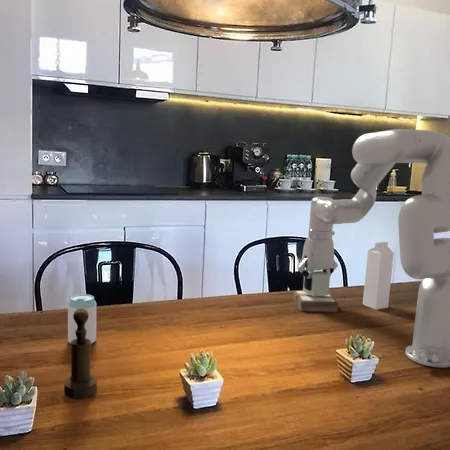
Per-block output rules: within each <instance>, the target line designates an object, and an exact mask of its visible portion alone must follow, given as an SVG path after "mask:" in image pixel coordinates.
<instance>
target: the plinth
mask: <svg viewBox="0 0 450 450" xmlns="http://www.w3.org/2000/svg"><path fill="white" fill-rule="evenodd" d="M292 294H293V295H292V301H294V304H295V305H296V306H297V307H298V309H299V311H301V312H331V313H333V312H334V313H336V312H339V310H338V309H339V302H338V300H336V299H335V297H333V296H332V294H331V293H329V295H322V296H312V295H310V294H308V293H306V292H304V291H303V290H294V291H293V292H292Z"/></svg>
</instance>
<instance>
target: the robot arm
mask: <svg viewBox="0 0 450 450" xmlns="http://www.w3.org/2000/svg"><path fill="white" fill-rule="evenodd" d="M351 152H352V157H353V160H354V161H355V162H356V164H355V166H354V167H353V168H352V170H351V173H350V178H351V180H352V182H353V184H355V185H356V187H358V191H357V192H356V194H355V195H354V196H353V197H352V198H351V199H347V198H345V199H333V198H332V197H329V196H328V197H327V196H314V197H312V199H311V201H310V209H309V210H310V213H309V227H308V237H307V238H305V241H304V244H303V248H302V249H303V250H302V256H301V262H300V263H299V264H298V265H297V267H296V269H297V270H298V271H299V272H300V273H301V274H302V276H303V278H304V277H305V281H304V280H303V284H304V288H305V289H307V290H309V291H311V285H312V279H311V276H312V273H313V271H314V270H321V271H324V272H326V273H329V274H330V278H331V276H332V274H333V273H334V272H335V270H336V269H337V268H338V266H339V265H338V263H337V262H336V260H335V245H334V240H333V236H334V235H335V233H336V232H335V231H334V230H333V229H334V225H341V224H355V223H357V222H360V221H361V220H363V219H364V218H365V216H367V215H368V213H369V212H370V211H371V209H372V208H373V207H374V205H375V202H376V199H377V187H378V186H379V184H381V182H382V180H384V178H386V175H388V173H389V172H390V171H391V170H392V169H393V167H394V166H395V164H400V163H401V164H425V167H424V170H423V171H422V175H421V194H420V195H415V196H414V195H413V196H411V197H409V198H408V199H406V200H405V201H404V202H403V203H402V205H401V207H400V209H399V213H398V241H399V242H398V243H399V244H398V245H399V258H400V263H401V267H402V269H403V270H404V273H405V274H406V275H408V276H409V277H410V278H412V279H415V280H421V282H420V284H419V288H418V291H417V292H418V294H417V299H416V300H417V302H416V310H415V319H414V325H413V326H414V327H413V328H414V329H413V334H412V335H413V337H412V344H411V345H408V346H407V347H405V351H404V352H405V353H404V354H405V356H406V357H407V358H409V359H410V361H413V362H415V363H417V364H420V365H423V366H427V367H432V368H443V369H444V368H450V237H437V238H435V236H434V234H439V233H440V234H441V233H447V232H450V136H448V135H446V134H445V133H443V132H439V131H434V130H429V129H412V128H411V129H409V128H408V129H407V128H395V129H394V128H393V129H387V130H381V131H374V132H368V133H367V132H366V133H363V134H362V135H359V137H357V139H356V140H355V142H354V143H353V145H352V149H351ZM308 272H309V273H308Z"/></svg>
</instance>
